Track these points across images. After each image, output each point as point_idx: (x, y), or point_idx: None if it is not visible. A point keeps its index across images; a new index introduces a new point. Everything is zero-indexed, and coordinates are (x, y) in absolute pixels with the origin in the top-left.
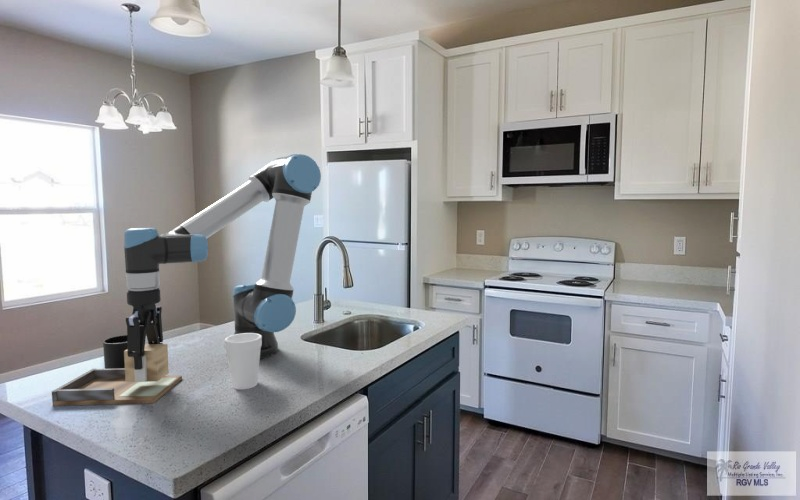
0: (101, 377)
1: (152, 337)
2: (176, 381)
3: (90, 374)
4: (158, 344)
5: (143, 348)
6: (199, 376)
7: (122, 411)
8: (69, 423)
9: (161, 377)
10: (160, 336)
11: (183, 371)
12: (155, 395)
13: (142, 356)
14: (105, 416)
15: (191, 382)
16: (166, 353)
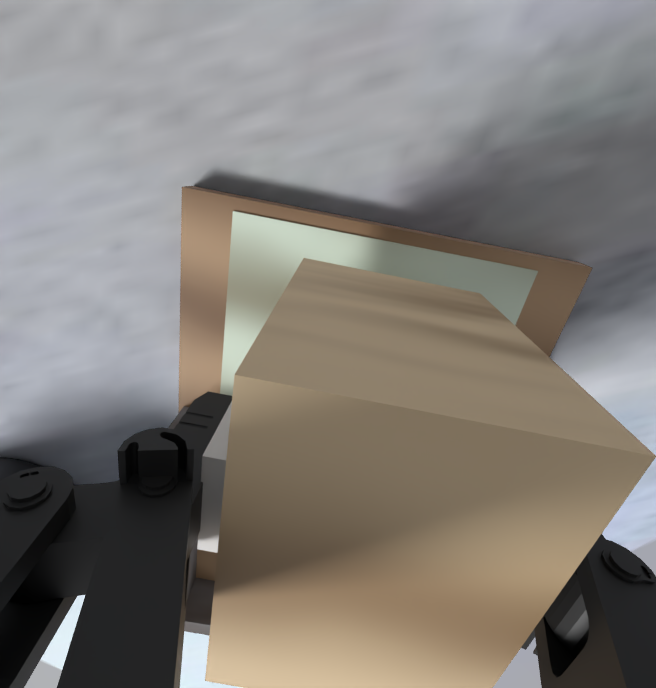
0: (194, 563)
1: (176, 678)
2: (272, 203)
3: (209, 612)
4: (257, 492)
5: (648, 643)
6: (146, 51)
7: (614, 386)
8: (634, 529)
9: (420, 283)
10: (10, 573)
11: (46, 211)
12: (539, 271)
13: (613, 542)
14: (637, 437)
15: (270, 91)
16: (306, 321)
